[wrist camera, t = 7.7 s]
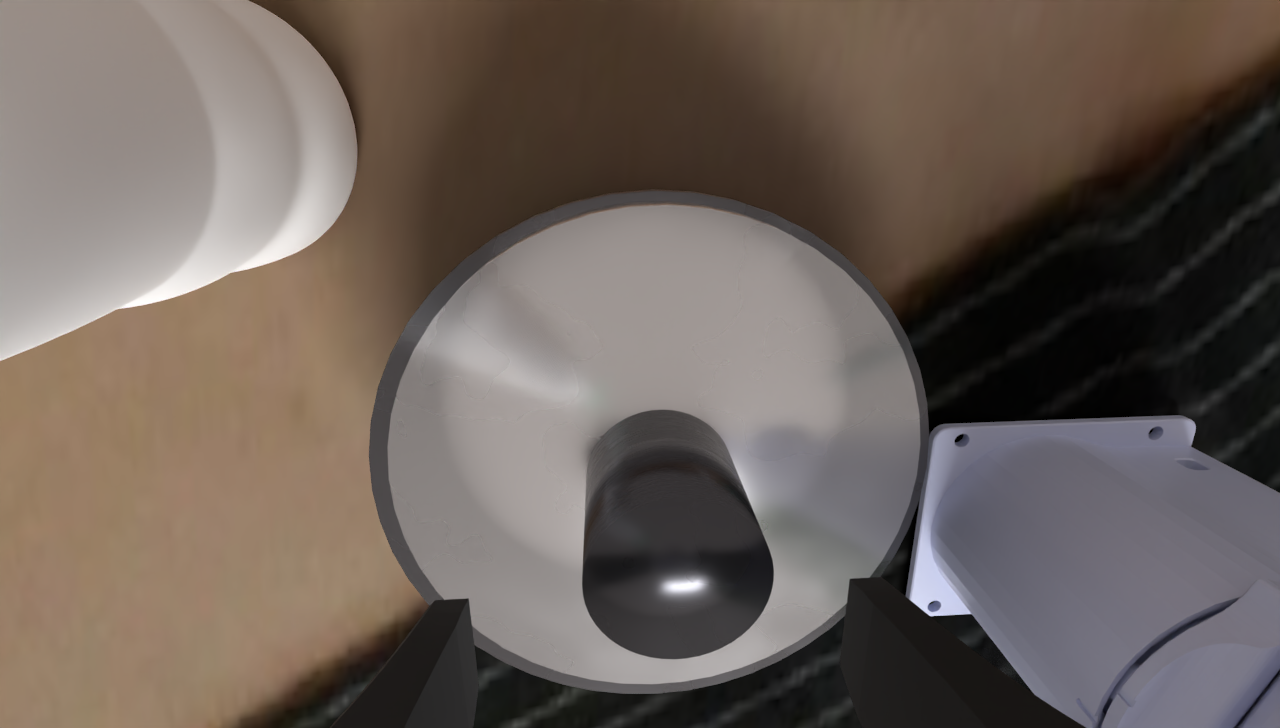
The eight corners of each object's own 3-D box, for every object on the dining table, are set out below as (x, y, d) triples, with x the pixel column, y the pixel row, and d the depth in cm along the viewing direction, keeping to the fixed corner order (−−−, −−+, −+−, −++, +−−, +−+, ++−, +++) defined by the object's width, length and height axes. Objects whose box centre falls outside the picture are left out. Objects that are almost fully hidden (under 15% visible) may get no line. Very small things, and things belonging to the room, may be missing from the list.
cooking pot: (881, 174, 20) (968, 185, 15) (839, 576, 25) (894, 680, 20) (390, 182, 19) (322, 196, 14) (447, 595, 24) (409, 707, 19)
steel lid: (938, 205, 15) (1099, 237, 10) (862, 646, 20) (951, 816, 15) (374, 194, 14) (259, 224, 10) (424, 657, 19) (363, 842, 14)
